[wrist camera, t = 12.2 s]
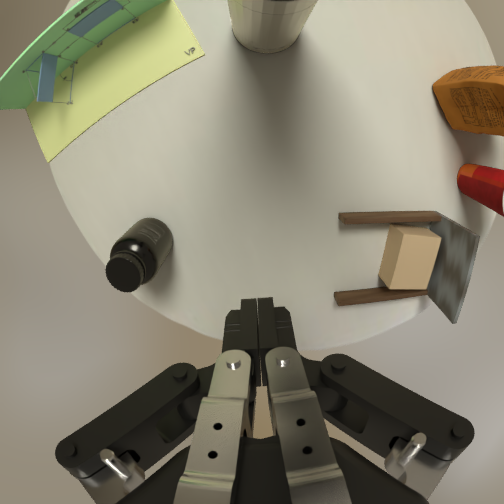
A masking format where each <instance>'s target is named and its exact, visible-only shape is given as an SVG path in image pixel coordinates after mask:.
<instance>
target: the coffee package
mask: <svg viewBox="0 0 504 504" xmlns="http://www.w3.org/2000/svg"><path fill="white" fill-rule="evenodd" d="M433 91H434V93H435V95H436V97H437V99H438V101H439V104H440V106H441V108H442V110H443V112H444V114H445V117H446V119H447V121H448V122H449V124H450V125H451V127H452V129H455V130H464V131H468V132H472V133H476V134H482V133H485V134H491V135H500V136H504V67H503V66H477V67H466V68H462V69H456V70H453V71H451V72H449V73H447V74H446V75H444V76H443V77H441V78H440V79H439V80H437V81H436V82H435V83H434V84H433Z"/></svg>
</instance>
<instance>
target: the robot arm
mask: <svg viewBox="0 0 504 504" xmlns="http://www.w3.org/2000/svg"><path fill="white" fill-rule="evenodd" d="M317 1H318V0H228V6H229V12H230V17H231V24H232V29H233V33H234V35H235V37H236V39H237V40H238V41H239V42H240V43H241V44H242V45H243V46H245V47H246V48H248V49H250V50H252V51H255V52H259V53H276V52H279V51H283V50H285V49H286V48H288V47H290V46H291V45H292V44H293V43H294V42H295V41H296V39H297V37H298V36H299V34H300V32H301V30H302V28H303V26H304V25H305V23H306V21H307V19H308V17H309V15H310V13H311V12H312V10H313V8H314V6H315V4H316V3H317ZM258 322H259V325H258ZM260 360H261V369H260ZM261 372H262V383H263V386H267V393H268V404H269V410H270V416H271V423H272V428H273V436H271V437H268V438H264V439H255V438H253V428H254V416H255V404H256V399H255V398H256V387H257V386H261ZM324 419H326V420H327V421H329V422H330V423H332V424H333V425H335V426H336V427H337V428H339V429H340V430H342V431H343V432H345V433H346V434H348V435H349V436H351V437H352V438H354V439H355V440H357V441H358V442H360V443H361V444H363V445H364V446H366V447H368V448H369V449H371V450H372V451H374V452H375V453H377V454H379V455H380V456H382V457H384V458H385V462H384V464H385V469H386V470H387V472H388V473H389V474H388V473H387V472H385V471H384V470H382V469H380V468H379V467H378V466H376V465H375V464H373V463H372V462H370V461H369V460H368V459H366V458H365V457H363V456H362V455H360V454H359V453H358V452H356V451H355V450H353V449H352V448H350V447H349V446H348V445H347V444H345V443H343V442H341V441H339V440H337V439H334V438H331V437H329V435H328V431H327V429H326V425H325V422H324ZM193 432H194V434H193V438H192V442H191V445H190V446H188V447H186V448H184V449H183V450H181V451H180V452H178V453H177V454H176V455H175V456H174V457H172V458H171V459H170V460H169V461H168V462H167V463H166V464H164V465H163V466H162V467H161V468H160V469H159V470H157V471H156V472H155V473H154V474H152V475H151V476H150V477H149V478H148V479H146V480H145V473H144V472H145V471H146V470H147V469H149V468H150V467H151V466H153V465H154V464H155V463H157V462H158V461H159V460H160V459H162V458H163V457H164V456H165V455H167V454H168V453H169V452H170V451H172V450H173V449H174V448H175V447H177V446H178V445H179V444H180V443H181V442H183V441H184V440H185V439H186V438H187V437H188V436H190V435H191V434H192V433H193ZM473 438H474V428H473V426H472V424H471V422H470V421H468V420H467V419H466V418H464V417H462V416H460V415H457V414H456V413H454V412H451V411H449V410H447V409H446V408H444V407H442V406H440V405H438V404H436V403H434V402H432V401H430V400H428V399H426V398H424V397H422V396H420V395H418V394H417V393H415V392H413V391H411V390H409V389H407V388H405V387H403V386H401V385H400V384H398V383H396V382H394V381H392V380H390V379H388V378H387V377H385V376H383V375H381V374H380V373H378V372H376V371H374V370H372V369H370V368H369V367H367V366H365V365H363V364H362V363H360V362H358V361H356V360H354V359H353V358H351V357H349V356H347V355H344V354H332V355H329V356H327V357H325V358H324V359H323V360H322V361H313V360H309V359H306V358H304V357H303V356H301V355H300V354H299V352H298V351H297V347H296V342H295V337H294V332H293V327H292V321H291V316H290V312H289V311H288V310H287V309H286V308H285V307H274V305H273V297H268V298H258V312H257V300H256V298H254V299H241V310H231V311H230V312H229V313H228V315H227V316H226V320H225V328H224V337H223V347H222V354H221V355H219V357H218V358H217V360H216V363H214V364H213V365H211V366H208V367H205V368H201V369H196V368H195V367H194V366H193V365H191V364H188V363H177V364H174V365H172V366H170V367H169V368H167V369H166V370H164V371H163V372H162V373H160V374H159V375H157V376H156V377H155V378H153V379H152V380H150V381H149V382H148V383H146V384H145V385H143V386H142V387H141V388H139V389H138V390H136V391H135V392H133V393H132V394H130V395H129V396H128V397H127V398H125V399H123V400H122V401H120V402H119V403H118V404H116V405H115V406H113V407H112V408H110V409H109V410H107V411H106V412H104V413H103V414H101V415H100V416H98V417H97V418H95V419H94V420H92V421H91V422H89V423H88V424H86V425H85V426H83V427H82V428H80V429H79V430H77V431H75V432H74V433H72V434H71V435H69V436H68V437H66V438H65V439H63V440H62V441H60V443H59V444H58V445H57V447H56V450H55V456H56V459H57V461H58V462H59V463H60V464H61V465H62V466H63V467H64V468H65V469H67V470H68V471H69V472H70V474H71V475H73V476H74V477H75V478H76V479H78V480H79V481H80V482H81V484H82V485H83V487H84V488H85V489H86V491H87V492H88V493H89V495H90V496H91V498H92V499H93V500H94V501H95V503H96V504H429V502H428V501H427V500H428V498H429V497H430V495H431V494H432V492H433V491H434V489H435V488H436V486H437V485H438V483H439V482H440V480H441V479H442V477H443V475H444V474H445V472H446V471H447V469H448V467H449V465H450V464H451V463H452V462H453V461H454V460H455V459H456V458H457V457H458V456H459V455H460V454H461V453H462V452H463V451H464V450H465V449H466V447H468V445H469V444H470V443H471V442H472V440H473ZM144 480H145V481H144Z"/></svg>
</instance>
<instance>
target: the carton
mask: <svg viewBox="0 0 504 504" xmlns="http://www.w3.org/2000/svg"><path fill="white" fill-rule="evenodd" d="M440 242H441V237H439V236H438V235H436V234H435V233H433V232H432V231H430V230H429V229H427V228H424V227H415V226H407V225H398V224H390V227H389V232H388V236H387V241H386V245H385V250H384V254H383V258H382V262H381V266H380V270H379V274H378V275H379V277H380V278H381V279H382V280H383V282H384V283H385V284H386V285H387V287H388V288H389V289H427V286H428V283H429V280H430V276H431V273H432V270H433V267H434V263H435V260H436V257H437V253H438V250H439V246H440Z"/></svg>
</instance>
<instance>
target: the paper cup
mask: <svg viewBox="0 0 504 504" xmlns="http://www.w3.org/2000/svg"><path fill="white" fill-rule="evenodd" d="M457 184H458V187H459V189H460V191H461V192H462V193H463V194H465V195H467V196H469V197H470V198H472V199H474V200H476V201H478V202H479V203H481V204H483V205H485V206H486V207H488V208H490V209H492V210H493V211H495V212H497V213H498V214H500V215H502V216H504V170H501V169H497V168H492V167H487V166H481V165H476V164H464V165H463V166H462V167H461V168H460V170H459V172H458V176H457Z"/></svg>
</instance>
